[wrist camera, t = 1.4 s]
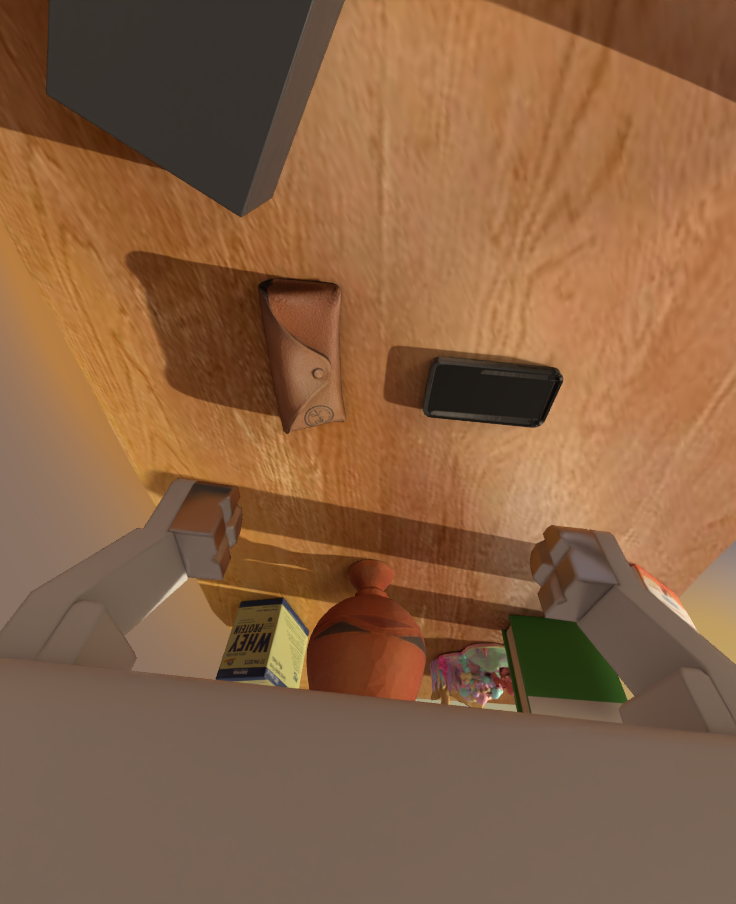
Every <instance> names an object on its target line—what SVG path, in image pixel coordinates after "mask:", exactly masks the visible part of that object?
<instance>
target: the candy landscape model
mask: <svg viewBox="0 0 736 904" xmlns="http://www.w3.org/2000/svg"><path fill="white" fill-rule="evenodd" d="M430 671H431V677H432V688H433V692H432V696H431V700H437V699H439V698H440V694H441V699H442V700H441V704H447V705H450V696H453V697H455V698H456V699H457V700H458V701H459V702H461V703H464V704H465V705H467V706H469V707H475V708H484V704H485V703H486V702H487V700H492V699H497V698H499V697H500V695H501V694H502V693H503V690H502V689H504V688H506V691H507V692H508V693H509V694H510V695H514V692H513V687H512V682H511V677H510V672H509V667H508V661H507V656H506V651H505V646H504V645H502V644H497V643H485V644H474V645H470V646H468V647H466V648H465V649H464V650H463V651H462V652H459V653H450V654H444V655H440V656H439V658H438V660H437V659H436V661H435V660H434V663H433V659H432V669H431V662H430ZM436 678H437V681H436ZM435 682H436V683H435Z"/></svg>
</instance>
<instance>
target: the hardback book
mask: <svg viewBox="0 0 736 904" xmlns="http://www.w3.org/2000/svg"><path fill="white" fill-rule="evenodd" d="M509 619H510V624H511V625H510V627H509V629H508V630H502V636H503V641H504V646H505V651H506V656H507V661H508V667H509V672H510V677H511V682H512V687H513V692H514V697H515V703H516V708H517V712H521V713H531V714H540V715H549V716H559V717H568V718H577V719H587V720H596V721H605V722H615V723H623V721H622V719H621V716H620V713H619V710H618V709H619V708H620V706H621V705H622V704H623V703H625V702H626V701H628V700H627V698H626V695H625V692H624V690H623V687H622V685H621V682H620V680H619V677H618V675H617V674H616V672H615V671H614V670H613V669H612V667H611V666H610V665H609V664H608V662H607V661H606V660H605V659H604V657H603V656H602V655H601V654H600V652H599V651H598V650H597V649H596V647H595V646H594V645H593V644H592V642H591V641H590V640H589V639H588V637H587V636H586V635H585V634H584V633H583V631H582V630H581V629H580V628H579V626H578V625H577V623H578V622H572V621H565V620H558V619H551V618H545V617H531V616H517V615H510V616H509Z"/></svg>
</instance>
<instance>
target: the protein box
mask: <svg viewBox="0 0 736 904" xmlns="http://www.w3.org/2000/svg"><path fill="white" fill-rule="evenodd" d="M308 635H309V630H308V629H307V628H306V627H305V625H304V624H303V623H302V621H301V620H300V619H299V617H298V616H297V615H296V613H295V612H294V611H293V609H292V608H291V607H290V605H289V604H288V603H287V601H286V600H285V599H284V598H280V599H269V600H257V601H245V602H241V603H240V606H239V609H238V612H237V615H236V618H235V621H234V625H233V628H232V631H231V634H230V637H229V640H228V643H227V646H226V649H225V652H224V655H223V658H222V661H221V664H220V667H219V670H218V673H217V677H216V680H222V681H231V682H241V683H250V684H259V685H269V686H278V687H288V688H297V689H299V684H300V679H301V673H302V668H303V662H304V657H305V651H306V646H307V640H308Z"/></svg>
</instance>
